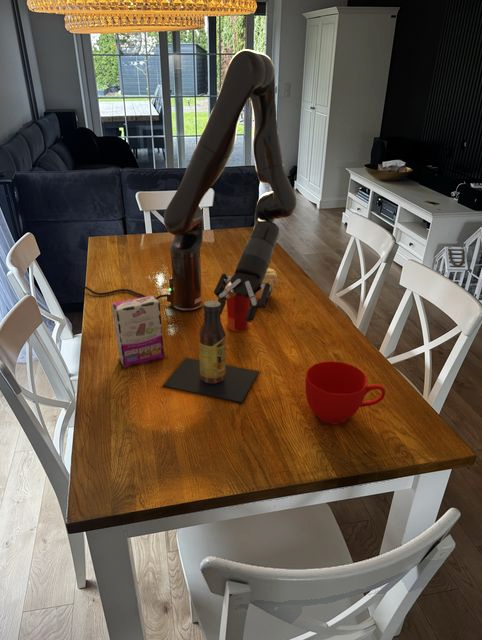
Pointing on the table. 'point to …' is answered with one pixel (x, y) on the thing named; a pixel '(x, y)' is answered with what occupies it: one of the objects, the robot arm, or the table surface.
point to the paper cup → (237, 312)
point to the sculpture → (268, 281)
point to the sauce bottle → (212, 344)
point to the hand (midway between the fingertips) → (232, 317)
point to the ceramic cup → (337, 391)
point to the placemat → (228, 389)
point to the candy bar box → (138, 330)
